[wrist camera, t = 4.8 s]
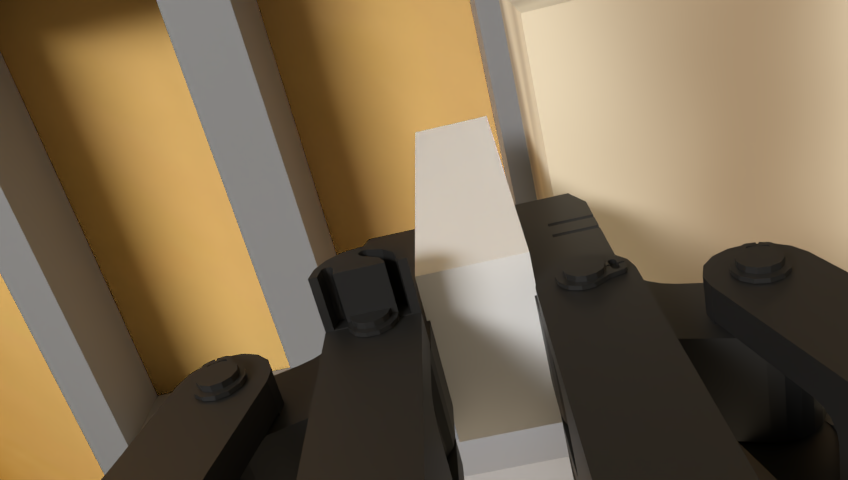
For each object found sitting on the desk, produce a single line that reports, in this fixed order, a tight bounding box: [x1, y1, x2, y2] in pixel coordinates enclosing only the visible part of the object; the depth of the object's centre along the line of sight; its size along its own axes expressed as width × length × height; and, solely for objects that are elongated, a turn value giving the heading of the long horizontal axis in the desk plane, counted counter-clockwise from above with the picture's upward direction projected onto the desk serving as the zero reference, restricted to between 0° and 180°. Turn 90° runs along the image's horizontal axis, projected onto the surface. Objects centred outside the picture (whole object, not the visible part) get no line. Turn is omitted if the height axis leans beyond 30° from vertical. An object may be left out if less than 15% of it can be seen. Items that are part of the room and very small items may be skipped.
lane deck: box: [0, 0, 574, 480], centre depth 17 cm, size 32×18×6 cm, turn 103°
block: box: [499, 0, 848, 284], centre depth 16 cm, size 7×7×4 cm
